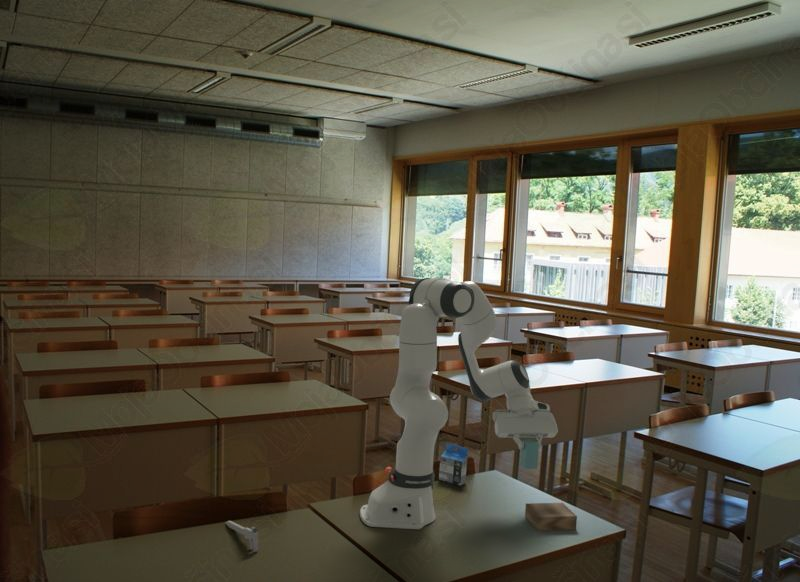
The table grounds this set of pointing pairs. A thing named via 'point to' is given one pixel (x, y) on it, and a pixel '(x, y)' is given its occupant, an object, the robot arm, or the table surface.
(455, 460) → the label tape box
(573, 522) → the walnut block
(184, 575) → the table surface
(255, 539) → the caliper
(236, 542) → the table surface
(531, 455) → the teal column
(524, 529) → the table surface
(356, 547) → the table surface
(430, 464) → the robot arm
